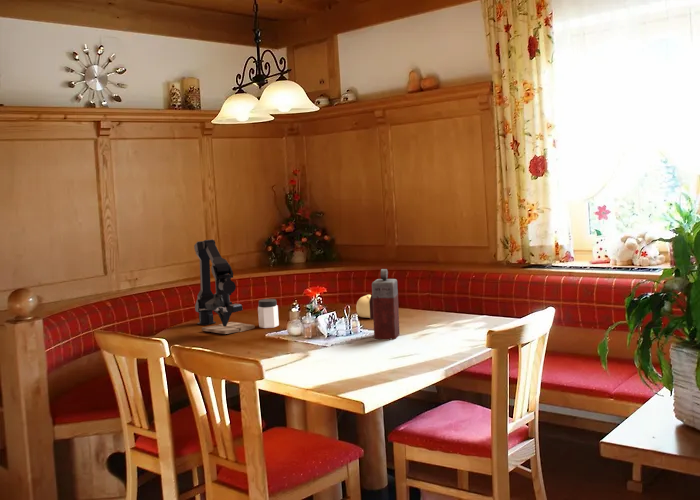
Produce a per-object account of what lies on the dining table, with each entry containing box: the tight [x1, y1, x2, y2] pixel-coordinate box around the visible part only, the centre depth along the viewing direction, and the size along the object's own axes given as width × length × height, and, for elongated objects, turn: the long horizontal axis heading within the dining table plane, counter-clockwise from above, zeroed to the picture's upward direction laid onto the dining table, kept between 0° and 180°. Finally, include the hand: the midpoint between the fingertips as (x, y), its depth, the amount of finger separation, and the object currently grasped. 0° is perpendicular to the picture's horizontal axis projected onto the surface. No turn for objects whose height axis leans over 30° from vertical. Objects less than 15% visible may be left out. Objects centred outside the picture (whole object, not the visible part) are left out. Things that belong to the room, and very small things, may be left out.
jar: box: [257, 298, 280, 329], centre depth 349 cm, size 9×8×12 cm
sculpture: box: [355, 294, 372, 319], centre depth 359 cm, size 11×12×11 cm
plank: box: [201, 325, 240, 335], centre depth 342 cm, size 16×8×1 cm, turn 50°
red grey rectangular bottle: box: [369, 268, 400, 340], centre depth 316 cm, size 9×11×28 cm
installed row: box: [217, 321, 256, 333], centre depth 349 cm, size 16×9×2 cm, turn 50°
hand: (224, 326), depth 336 cm, fingers closed
